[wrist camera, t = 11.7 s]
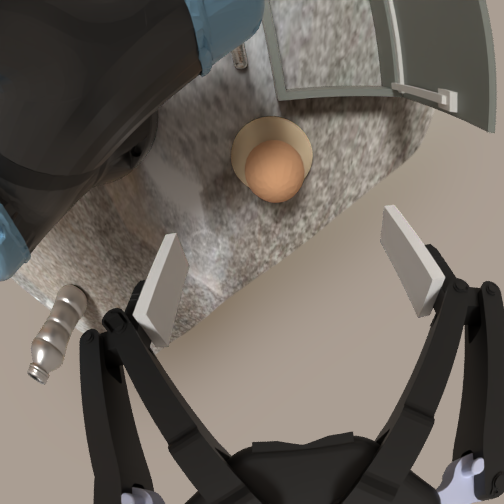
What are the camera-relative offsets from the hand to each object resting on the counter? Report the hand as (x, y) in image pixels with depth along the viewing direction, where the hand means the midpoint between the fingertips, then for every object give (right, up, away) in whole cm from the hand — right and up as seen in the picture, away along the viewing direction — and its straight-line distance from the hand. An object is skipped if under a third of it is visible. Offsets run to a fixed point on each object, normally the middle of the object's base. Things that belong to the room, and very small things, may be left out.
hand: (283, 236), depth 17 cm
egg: (0, +9, +12) cm, 16 cm away
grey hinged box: (+5, +24, +2) cm, 24 cm away
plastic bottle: (-36, -9, +29) cm, 47 cm away
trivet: (0, +10, +13) cm, 17 cm away
